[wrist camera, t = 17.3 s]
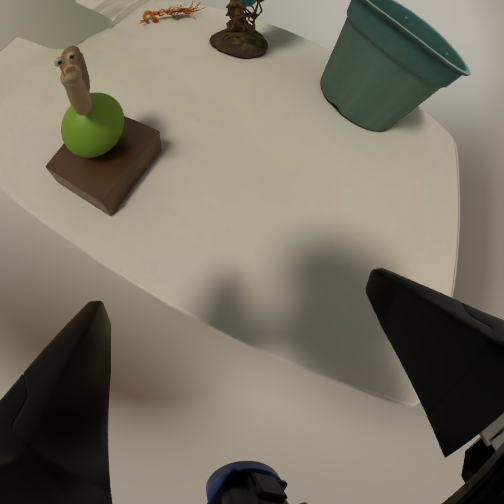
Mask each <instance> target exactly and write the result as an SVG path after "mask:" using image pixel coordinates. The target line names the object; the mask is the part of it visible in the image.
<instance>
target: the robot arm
mask: <svg viewBox="0 0 504 504" xmlns="http://www.w3.org/2000/svg"><path fill="white" fill-rule="evenodd" d="M366 294H367V296H368V299H369V301H370V303H371V305H372V307H373V309H374V311H375V314H376V316H377V318H378V320H379V323H380V325H381V327H382V329H383V330H384V332H385V334H386V336H387V338H388V340H389V341H390V343H391V345H392V347H393V349H394V350H395V352H396V354H397V356H398V358H399V360H400V362H401V364H402V366H403V367H404V369H405V371H406V373H407V375H408V377H409V379H410V381H411V383H412V385H413V387H414V389H415V391H416V393H417V395H418V398H419V400H420V402H421V403H422V406H423V408H424V410H425V412H426V414H427V417H428V419H429V422H430V424H431V426H432V428H433V431H434V433H435V435H436V438H437V440H438V442H439V445H440V447H441V450H442V452H443V455H444V456H445V457H447V456H449V455H450V454H452V453H453V452H455V451H456V450H458V449H459V448H461V447H462V446H463V445H465V444H466V443H467V442H469V441H470V440H471V439H473V438H474V437H475V436H477V435H478V434H479V435H480V438H478V439H477V440H476V441H475V443H473V445H471V446H470V447H469V448H468V449H467V450H466V451H465V458H464V464H463V470H462V475H461V476H462V478H463V480H464V482H465V484H464V485H463V486H462V487H461V488H460V489H459V490H458V491H456V492H455V493H454V494H453V495H452V496H451V497H449V498H448V499H447V500H446V501H445V502H444V503H442V504H504V320H502V319H499V318H497V317H494V316H492V315H489V314H487V313H484V312H482V311H480V310H477V309H475V308H473V307H471V306H468V305H466V304H464V303H461V302H460V301H457V300H455V299H453V298H451V297H449V296H446V295H444V294H442V293H440V292H437V291H435V290H433V289H430V288H428V287H426V286H424V285H421V284H419V283H417V282H414V281H412V280H410V279H407V278H405V277H403V276H400V275H398V274H396V273H393V272H391V271H388V270H386V269H384V268H378V269H373V270H372V271H371V273H370V276H369V279H368V282H367V286H366ZM110 375H111V324H110V320H109V317H108V315H107V312H106V309H105V307H104V304H103V302H101V301H91V302H89V303H88V304H86V306H84V308H82V309H81V311H80V312H79V313H78V314H77V315H76V316H75V317H74V318H73V319H72V320H71V321H70V322H69V323H68V324H67V325H66V326H65V327H64V328H63V329H62V330H61V331H60V333H58V335H57V336H56V337H55V338H54V339H53V340H52V341H51V342H50V343H49V344H48V345H47V346H46V348H45V349H44V350H43V351H42V352H41V353H40V354H39V355H38V357H37V358H36V359H35V360H34V361H33V362H32V363H31V365H30V366H29V367H28V368H27V369H26V370H25V372H24V375H23V374H22V375H21V376H20V378H19V379H18V380H17V381H16V383H15V384H14V385H13V386H12V387H11V388H10V390H9V391H8V392H7V393H6V394H5V395H4V397H3V398H2V399H1V400H0V504H112V497H111V493H110V492H111V489H110V476H109V459H108V410H109V391H110ZM233 472H236V473H235V474H233ZM281 484H284V485H282V486H281ZM286 487H287V483H286V481H284V480H279V479H276V478H275V477H272V476H268V475H264V474H260V473H256V472H252V473H251V472H247V471H244V470H240V469H237V468H232V469H230V470H229V472H228V473H227V475H226V476H225V478H224V480H223V481H222V483H221V484H220V486H219V487H218V488H217V490H216V491H215V493H214V494H213V496H212V497H211V499H210V500H209V501H208V503H207V504H288V502H287V501H286V499H287V496H286V494H285V492H284V490H285V488H286ZM301 504H307V503H305V502H304V503H301Z"/></svg>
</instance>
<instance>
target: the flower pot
mask: <svg viewBox="0 0 504 504" xmlns="http://www.w3.org/2000/svg"><path fill="white" fill-rule="evenodd" d="M347 16H348V17H347V19H346V21H345V24H344V26H343V28H342V31H341V33H340V35H339V38H338V40H337V43H336V45H335V47H334V49H333V52H332V54H331V56H330V59H329V61H328V63H327V66H326V68H325V70H324V73H323V75H322V77H321V88H322V91H323V93H324V95H325V96H326V98H327V99H328V101H329V102H332V103H334V104H335V105H336V106H337V107H338V109H339V112H340V113H341V114H342V115H344V116H345V117H346V118H348V119H349V120H351V121H352V122H354V123H356V124H358V125H360V126H362V127H364V128H367V129H370V130H373V131H384V130H386V129H388V128H391V127H392V126H393V125H394V124H396V123H397V122H398V121H399V120H401V119H402V118H403V117H404V116H406V115H407V114H408V113H409V112H411V111H412V110H413V109H414V108H416V107H417V106H418V105H420V104H421V103H422V102H423V101H425V100H426V99H427V98H429V97H430V96H431V95H432V94H434V93H435V92H436V91H438V90H439V89H440V88H441V87H447V86H448V85H450V84H451V83H452V82H454V81H455V80H456V79H457V78H459V77H460V76H462V75H464V76H468V75H470V70H469V68H468V66H467V65H466V63H465V62H464V60H463V59H462V57H461V56H460V55H459V54H458V52H457V51H456V50H455V49H454V48H453V47H452V46H451V45H450V44H449V42H448V41H447V40H446V39H445V38H444V37H442V36H441V35H440V34H439V33H438V32H437V31H436V30H435V29H434V28H433V27H432V26H430V25H429V24H428V23H427V22H425V21H424V20H423V19H422V18H420V17H419V16H418V15H416V14H415V13H413V12H412V11H411V10H409V9H408V8H406V7H404V6H403V5H401V4H400V3H398V2H396V1H394V0H351V2H350V5H349V7H348V10H347Z"/></svg>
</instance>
